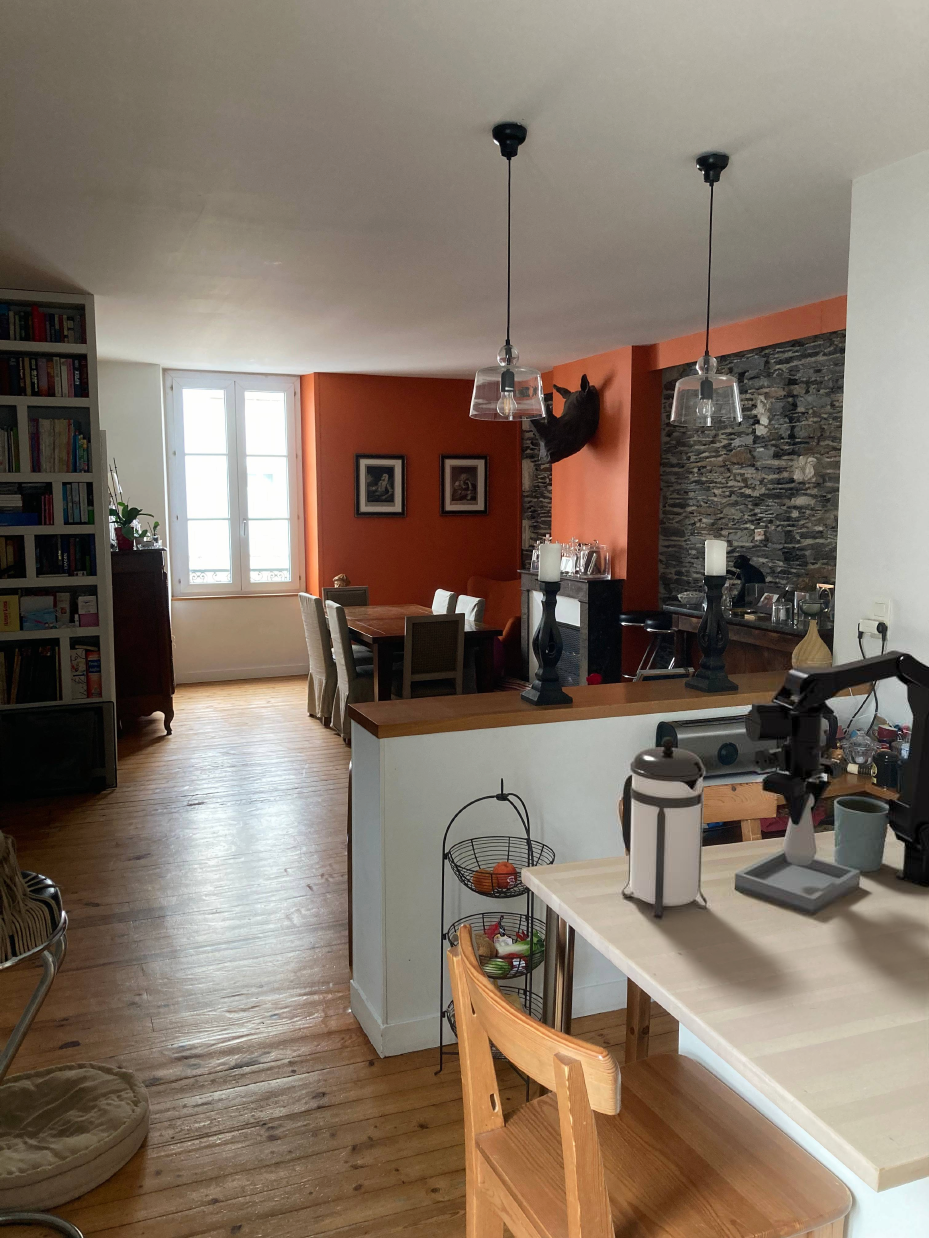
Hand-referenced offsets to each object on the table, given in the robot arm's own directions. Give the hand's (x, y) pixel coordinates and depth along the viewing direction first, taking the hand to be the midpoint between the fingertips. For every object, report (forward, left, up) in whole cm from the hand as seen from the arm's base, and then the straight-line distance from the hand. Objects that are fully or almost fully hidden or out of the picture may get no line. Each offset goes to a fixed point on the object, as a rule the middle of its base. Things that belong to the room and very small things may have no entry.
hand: (800, 821), depth 167 cm
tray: (0, 0, -13) cm, 13 cm away
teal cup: (-20, +2, -13) cm, 24 cm away
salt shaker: (0, 0, -8) cm, 8 cm away
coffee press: (+23, -15, -13) cm, 30 cm away
